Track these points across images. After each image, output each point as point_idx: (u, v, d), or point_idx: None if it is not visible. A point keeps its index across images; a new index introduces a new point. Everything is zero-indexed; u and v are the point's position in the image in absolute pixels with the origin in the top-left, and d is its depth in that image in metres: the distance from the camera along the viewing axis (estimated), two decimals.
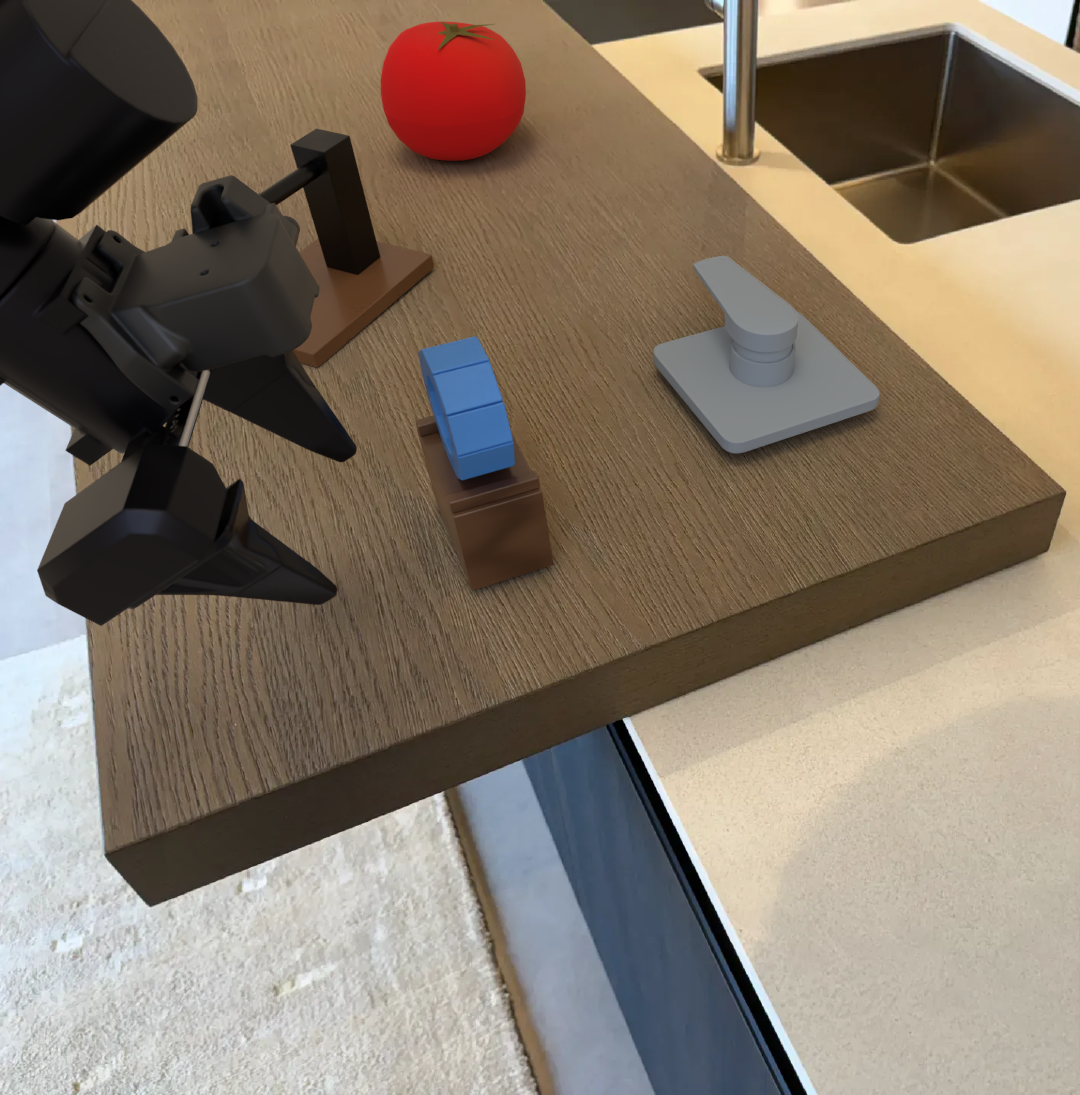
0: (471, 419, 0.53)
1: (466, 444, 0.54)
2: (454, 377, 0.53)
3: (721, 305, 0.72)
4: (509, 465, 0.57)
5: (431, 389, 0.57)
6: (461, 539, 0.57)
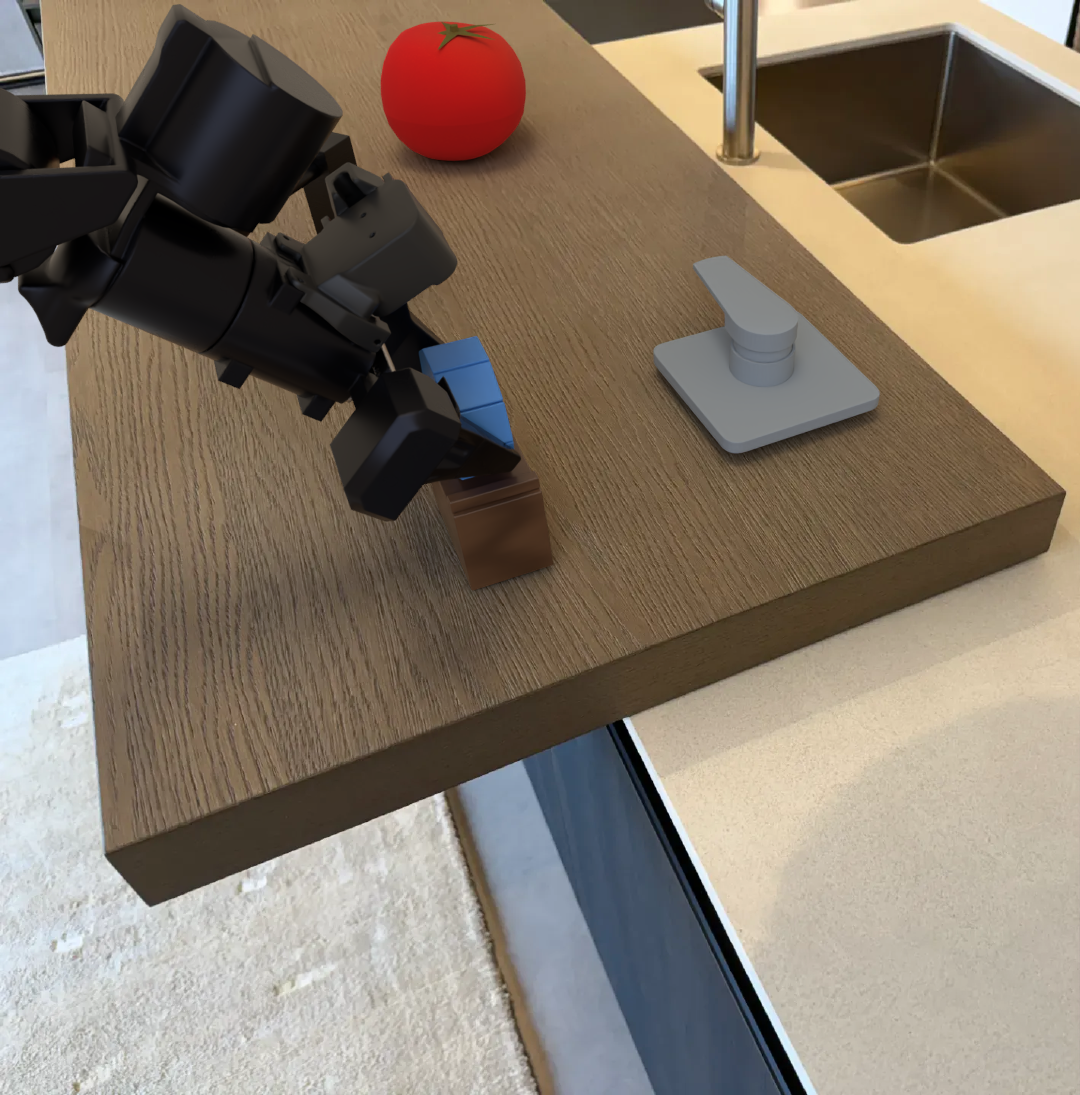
0: (471, 419, 0.53)
1: None
2: (454, 377, 0.53)
3: (721, 305, 0.72)
4: None
5: None
6: (461, 539, 0.57)
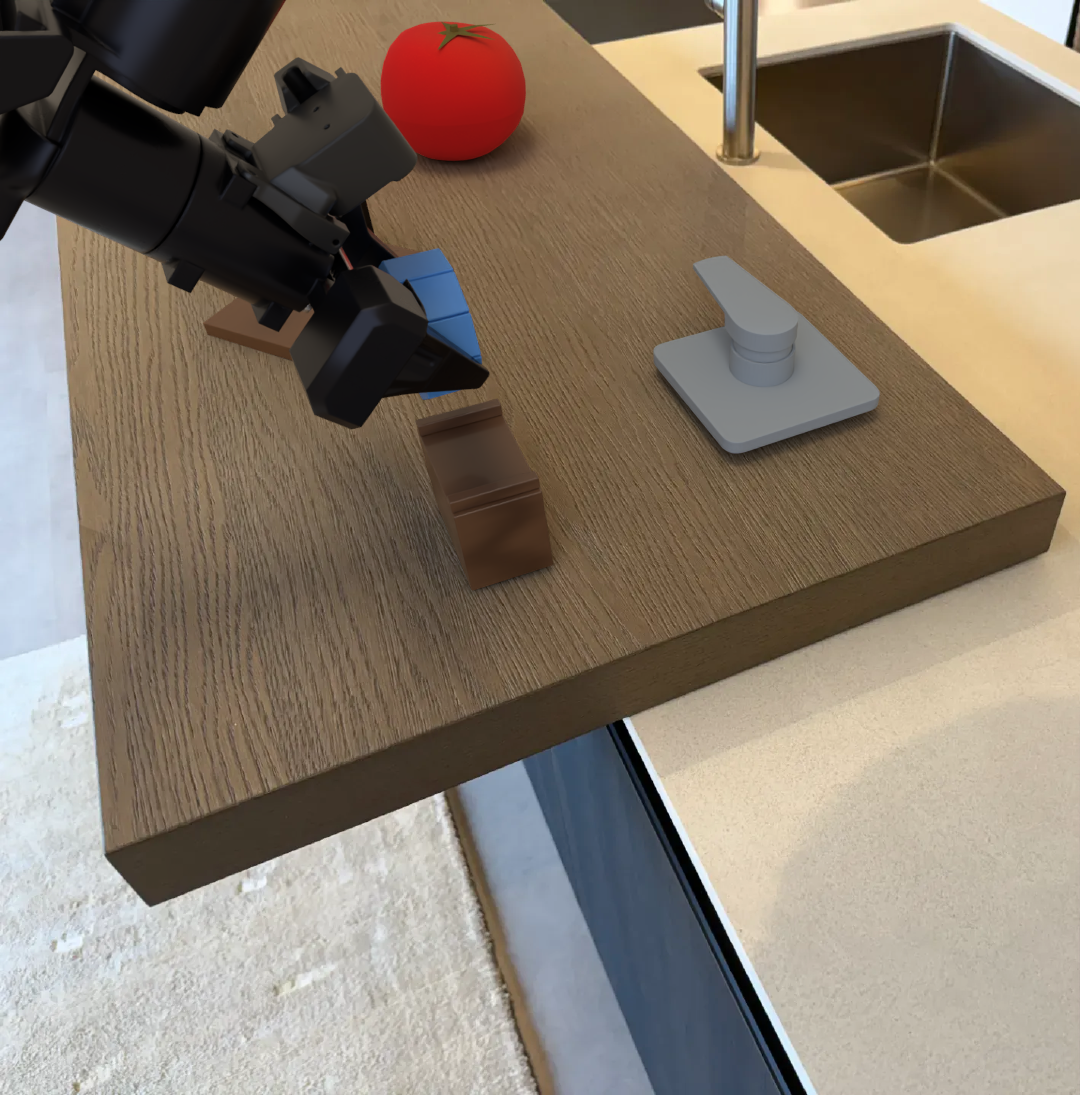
0: None
1: None
2: (417, 287, 0.51)
3: (721, 305, 0.72)
4: None
5: None
6: (461, 539, 0.57)
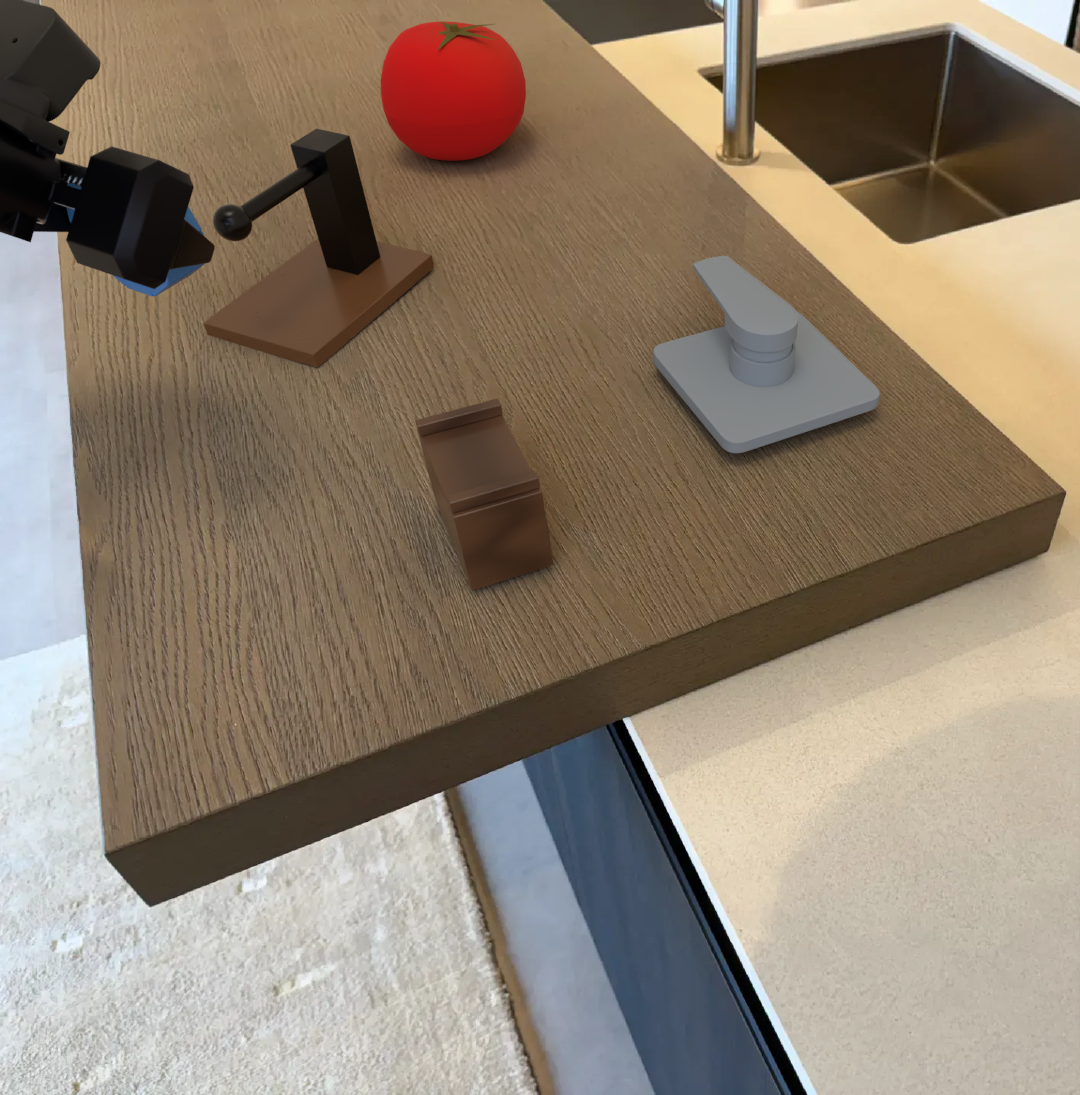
0: None
1: None
2: None
3: (721, 305, 0.72)
4: None
5: None
6: (461, 539, 0.57)
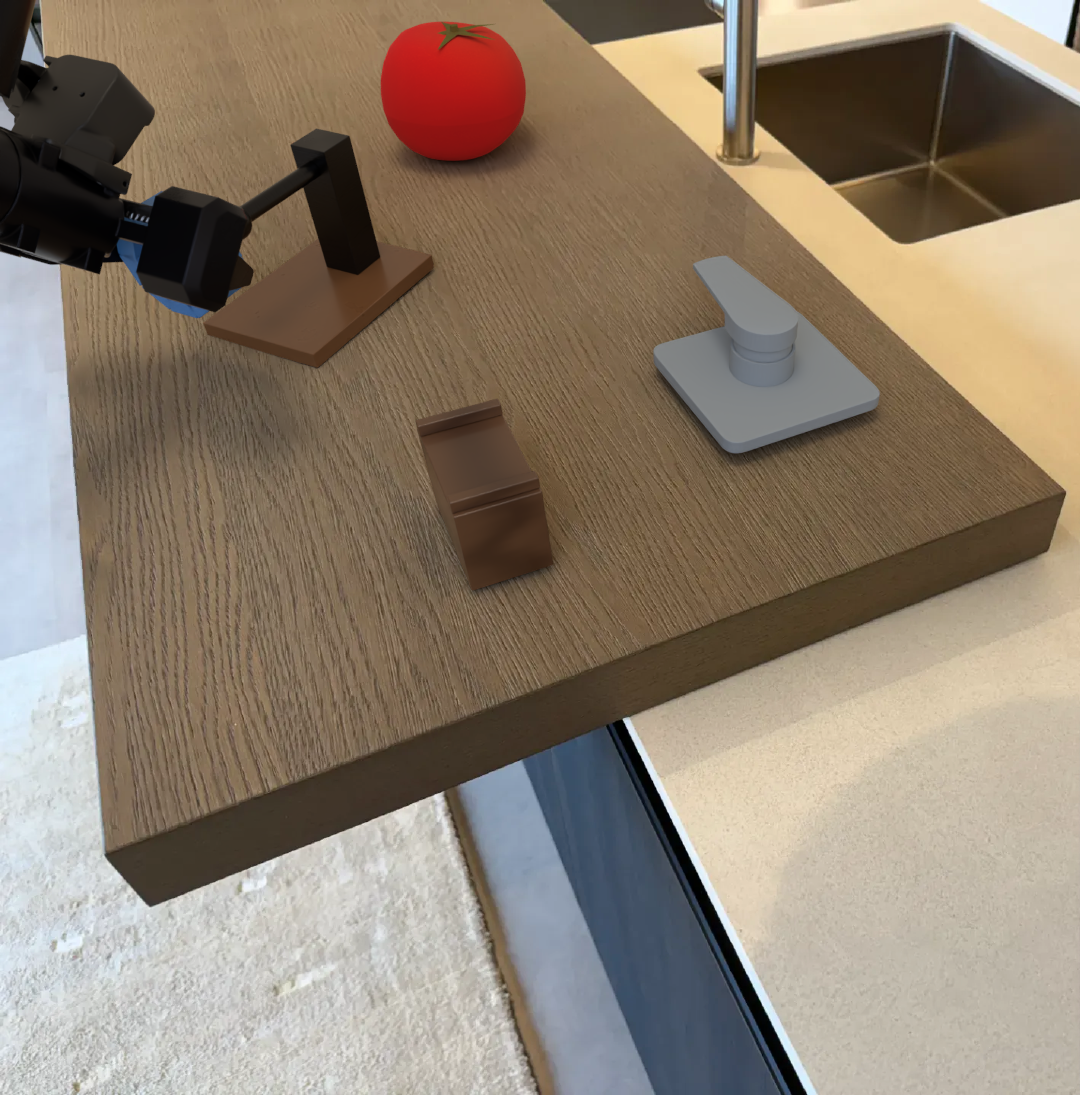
0: None
1: None
2: None
3: (721, 305, 0.72)
4: None
5: (137, 256, 0.67)
6: (461, 539, 0.57)
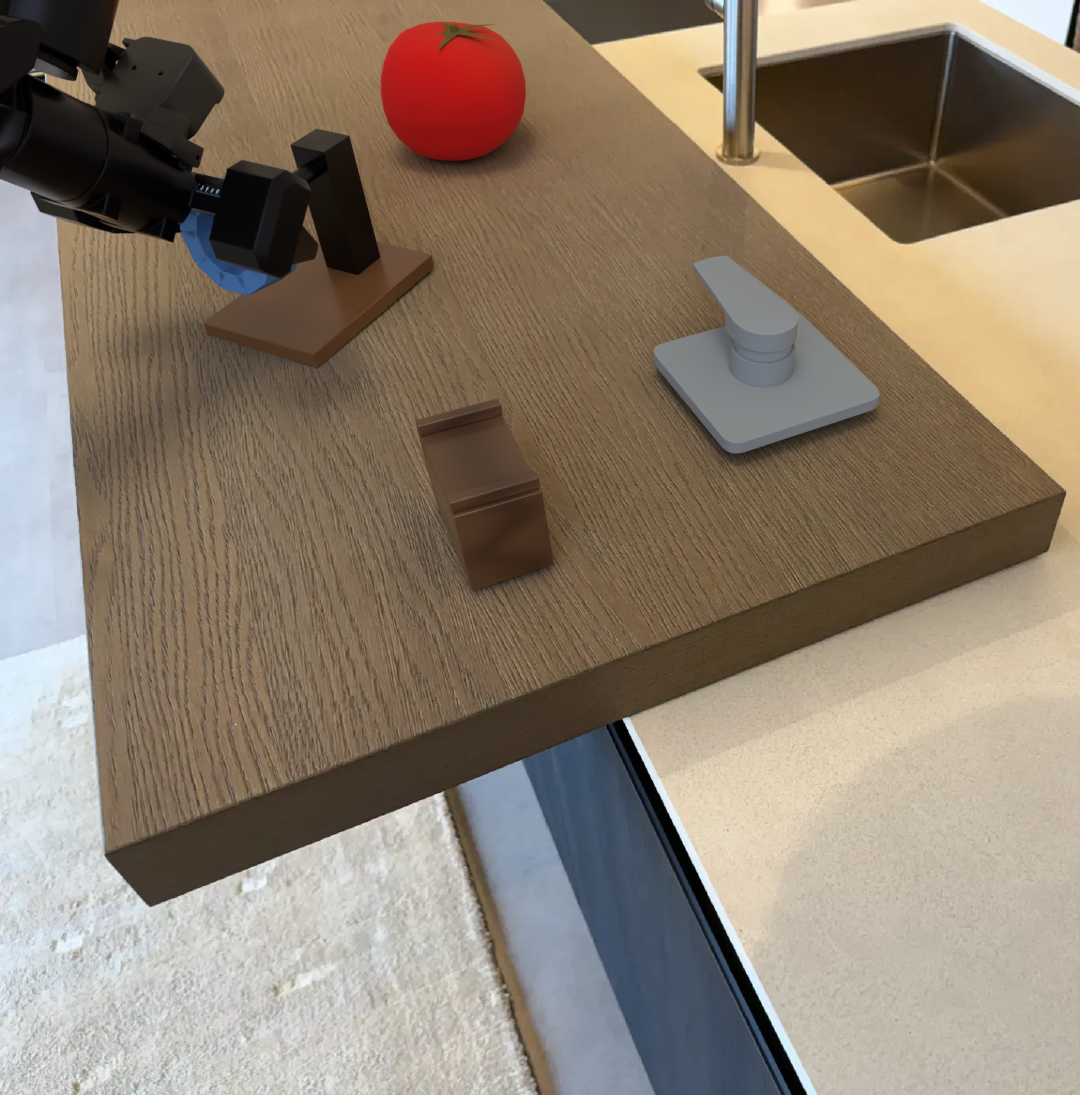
0: None
1: None
2: None
3: (721, 305, 0.72)
4: (293, 268, 0.72)
5: (197, 232, 0.70)
6: (461, 539, 0.57)
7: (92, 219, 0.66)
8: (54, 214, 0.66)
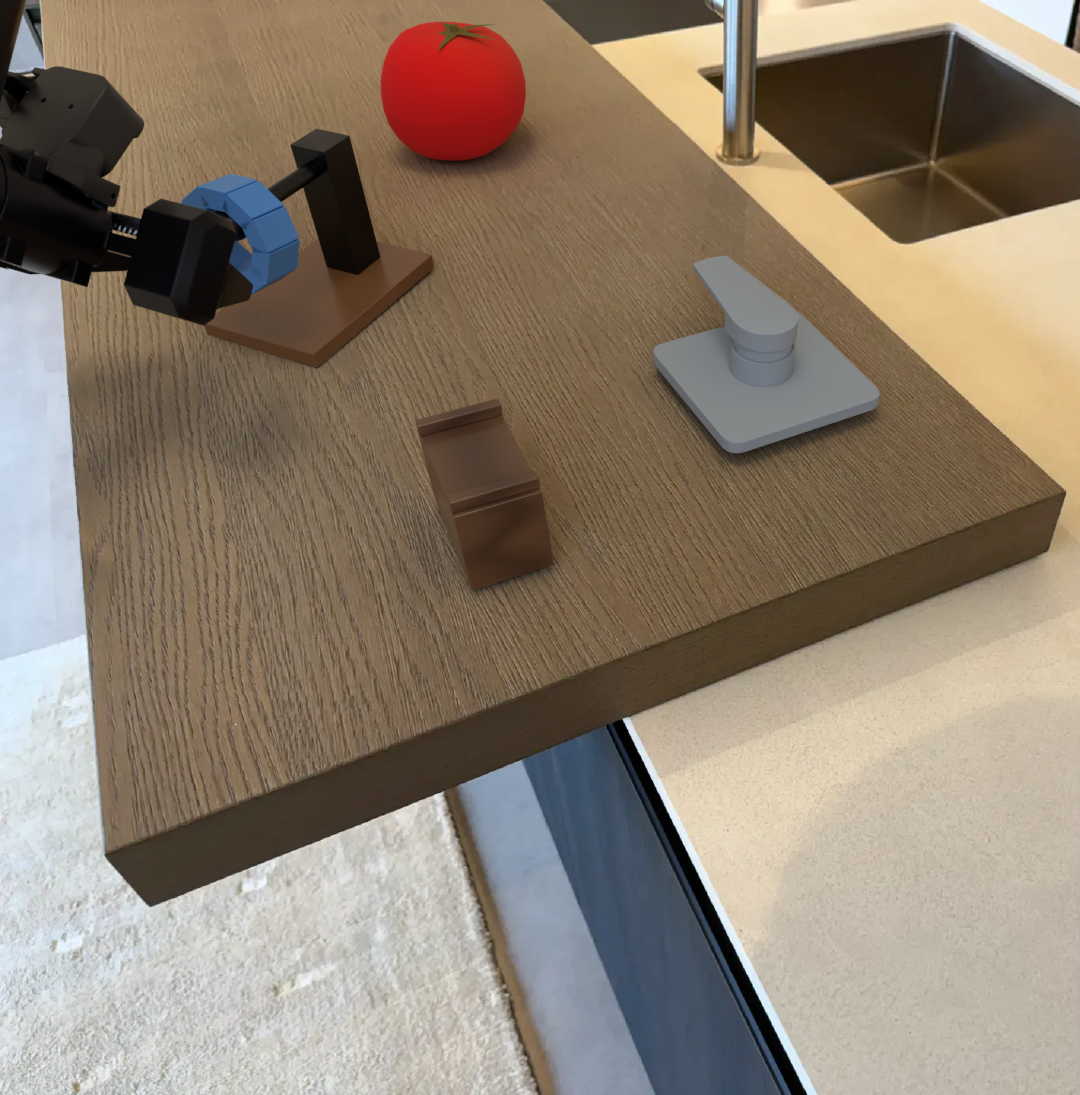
0: (269, 221, 0.69)
1: (271, 242, 0.69)
2: (242, 193, 0.68)
3: (721, 305, 0.72)
4: (294, 267, 0.72)
5: None
6: (461, 539, 0.57)
7: None
8: None
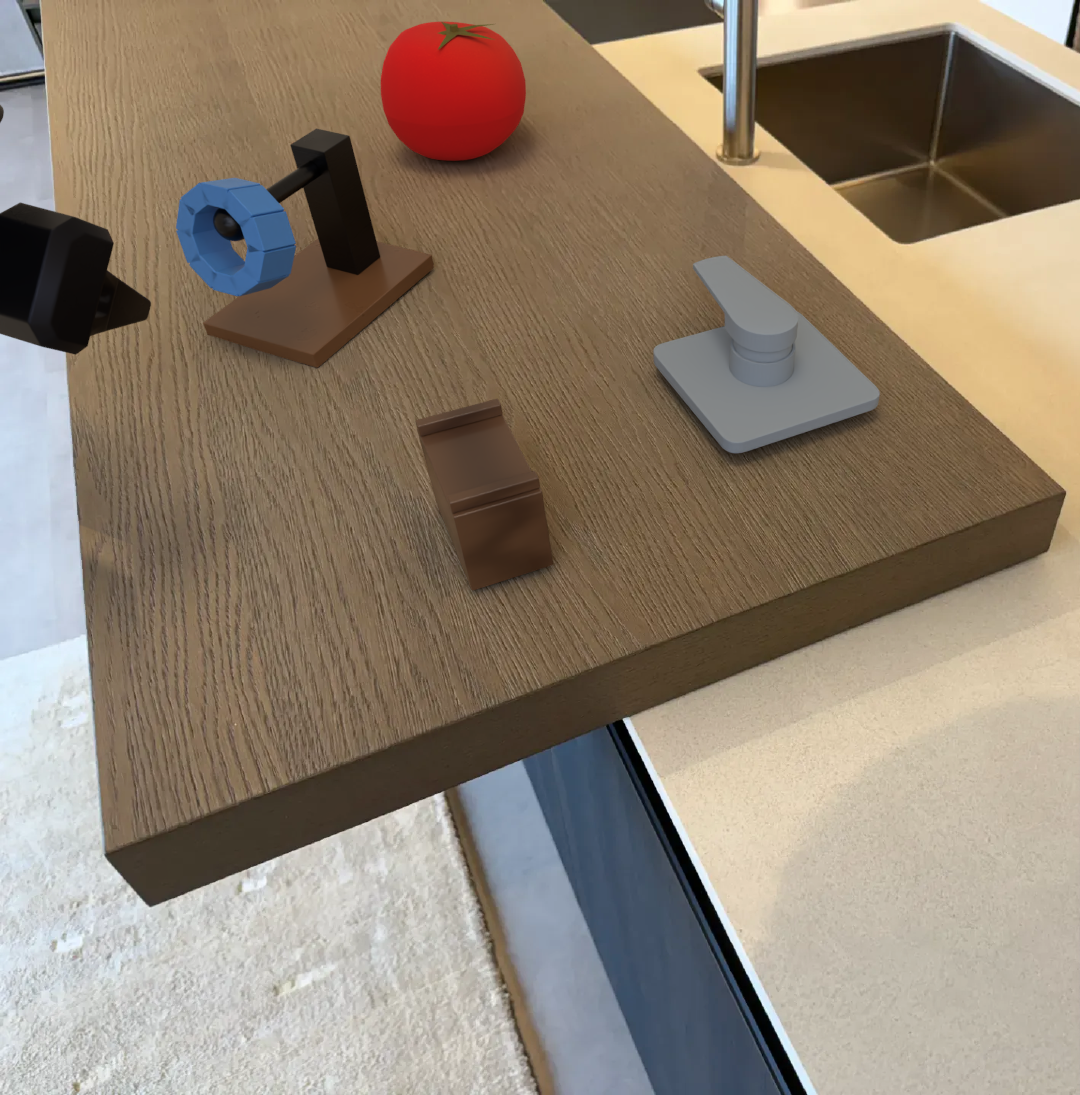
0: (268, 221, 0.69)
1: (268, 241, 0.69)
2: (244, 192, 0.68)
3: (721, 305, 0.72)
4: (287, 273, 0.72)
5: (194, 231, 0.70)
6: (461, 539, 0.57)
7: None
8: None
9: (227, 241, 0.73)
